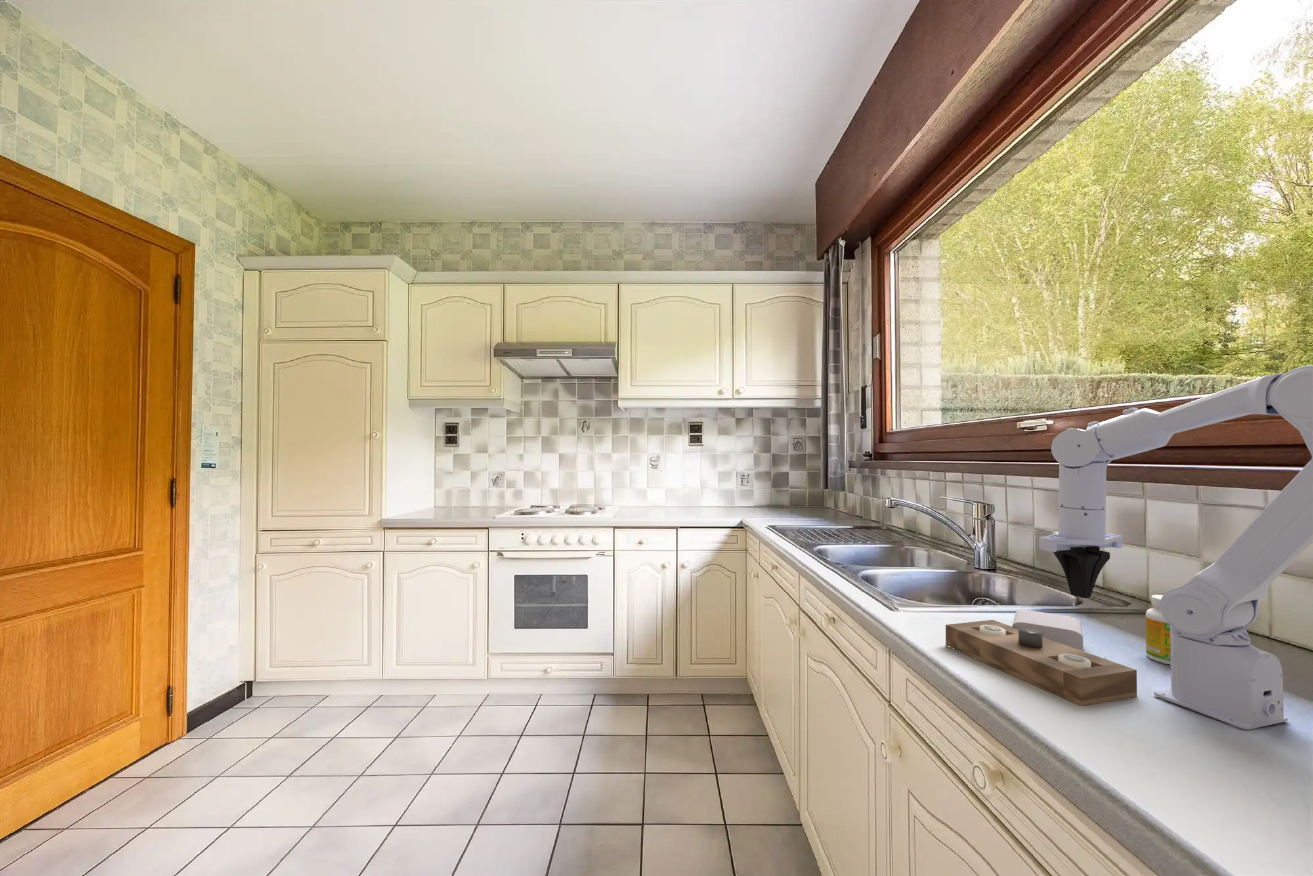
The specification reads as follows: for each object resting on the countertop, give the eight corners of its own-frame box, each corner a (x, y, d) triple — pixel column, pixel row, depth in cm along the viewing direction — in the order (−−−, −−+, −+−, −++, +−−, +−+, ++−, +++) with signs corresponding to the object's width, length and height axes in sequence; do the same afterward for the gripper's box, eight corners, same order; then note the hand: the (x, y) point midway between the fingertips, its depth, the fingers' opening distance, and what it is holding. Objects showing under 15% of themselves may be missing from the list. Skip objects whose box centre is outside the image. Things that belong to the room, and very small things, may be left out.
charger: (1080, 636, 96) (1083, 662, 84) (1017, 625, 102) (1012, 649, 90) (1079, 609, 96) (1083, 632, 84) (1017, 600, 102) (1012, 620, 90)
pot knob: (1047, 647, 80) (1047, 633, 80) (1032, 649, 80) (1031, 635, 80) (1028, 640, 83) (1028, 627, 83) (1013, 642, 82) (1013, 629, 82)
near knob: (1097, 685, 74) (1097, 661, 74) (1078, 688, 73) (1078, 664, 73) (1071, 674, 77) (1070, 651, 77) (1052, 677, 76) (1051, 654, 76)
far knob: (1011, 650, 86) (1011, 630, 86) (993, 653, 85) (993, 632, 85) (991, 642, 90) (991, 623, 90) (974, 645, 89) (974, 625, 89)
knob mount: (1137, 696, 72) (1136, 669, 72) (1081, 705, 69) (1081, 678, 69) (992, 640, 93) (992, 619, 93) (945, 645, 90) (945, 624, 91)
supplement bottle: (1164, 666, 82) (1163, 602, 82) (1137, 653, 88) (1136, 593, 88) (1203, 668, 82) (1202, 603, 82) (1173, 654, 87) (1173, 594, 87)
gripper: (1089, 503, 89) (1088, 586, 89) (1021, 505, 85) (1019, 591, 85) (1137, 509, 82) (1136, 598, 82) (1066, 511, 78) (1065, 605, 78)
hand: (1080, 596), depth 83 cm, fingers closed
